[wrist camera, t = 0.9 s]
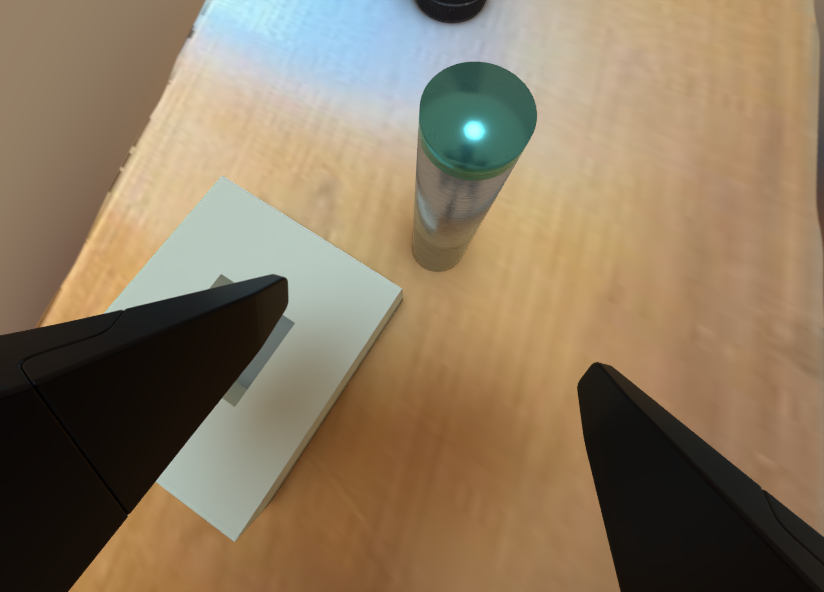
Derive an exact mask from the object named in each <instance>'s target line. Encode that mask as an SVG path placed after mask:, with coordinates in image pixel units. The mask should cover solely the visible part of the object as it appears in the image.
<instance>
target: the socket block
mask: <svg viewBox="0 0 824 592" xmlns="http://www.w3.org/2000/svg"><path fill="white" fill-rule="evenodd" d="M270 274H276V275H279V276H283V277H286V278H287V280H288V296H289V302H288V306H287V308H286V310H285V312H284V313H283V315H282V317H281V318H280V320H279V321H278V323H277V325H276V326H275V328H274V329H273V331H272V333H271V334H270V336H269V337H268V339H267V341H266V342H265V344H264V345H263V347H262V348H261V350H260V351H259V352H258V354H257V355H256V356H255V357H254V359H253V360H252V361H251V362H250V364H249V365H248V366H247V367H246V369H245V370H244V371H243V373H242V374H241V375H240V376H239V378H238V379H237V380H236V381H235V383H234V384H233V385H232V386H231V388H230V389H229V390H228V391H227V393H226V394H225V395H224V396H223V398H222V399H221V400H220V401H219V403H218V404H217V405H216V406H215V408H214V409H213V410H212V411H211V413H210V414H209V415H208V416H207V418H206V419H205V420H204V421H203V423H202V424H201V425H200V426H199V428H198V429H197V430H196V431H195V433H194V434H193V435H192V436H191V438H190V439H189V440H188V441H187V443H186V444H185V445H184V447H183V448H182V449H181V450H180V452H179V453H178V454H177V455H176V457H175V458H174V459H173V460H172V462H171V463H170V464H169V465H168V467H167V468H166V469H165V470H164V472H163V473H162V474H161V475H160V477H159V478H158V479H157V480H156V483H158V484H159V485H160V486H162V487H163V488H164V489H166V490H167V491H168V492H170V493H171V494H172V495H173V496H175V497H176V498H177V499H179V500H180V501H181V502H183V503H184V504H185V505H187V506H188V507H189V508H191V509H192V510H193V511H194V512H196V513H197V514H198V515H200V516H201V517H202V518H204V519H205V520H206V521H208V522H209V523H210V524H212V525H213V526H214V527H215V528H217V529H218V530H219V531H221V532H222V533H223V534H225V535H226V536H227V537H229V538H230V539H231V540H233V541H234V542H235V541H236V540H237V539H238V538H239V537H240V536H241V535H242V534H243V532H244V531H245V530H246V529H247V528H248V527H249V526H250V525H251V524H252V522H253V521H254V520H255V519H256V518H257V517H258V516H259V515H260V514H261V513H262V511H263V510H264V509H265V508H266V507H267V506H268V505H269V504H270V502H271V501H272V499H273V498H274V496H275V495H276V493H277V492H278V490H279V489H280V487H281V486H282V484H283V482H284V481H285V479H286V478H287V476H288V475H289V473H290V472H291V470H292V469H293V467H294V466H295V464H296V463H297V461H298V460H299V458H300V457H301V455H302V453H303V452H304V450H305V449H306V447H307V446H308V444H309V443H310V441H311V440H312V438H313V437H314V435H315V434H316V432H317V431H318V429H319V427H320V426H321V424H322V423H323V421H324V420H325V418H326V417H327V415H328V414H329V412H330V411H331V409H332V408H333V406H334V405H335V403H336V401H337V400H338V398H339V397H340V395H341V394H342V392H343V391H344V389H345V388H346V386H347V385H348V383H349V382H350V380H351V379H352V377H353V376H354V374H355V372H356V371H357V369H358V368H359V366H360V365H361V363H362V362H363V360H364V359H365V357H366V356H367V354H368V353H369V351H370V350H371V348H372V346H373V345H374V343H375V342H376V340H377V339H378V337H379V336H380V334H381V333H382V331H383V330H384V328H385V327H386V325H387V324H388V322H389V320H390V319H391V317H392V316H393V314H394V313H395V311H396V310H397V308H398V307H399V305H400V304H401V302H402V301H403V295H402V288H401V287H399V286H397V285H396V284H394V283H393V282H391V281H389V280H388V279H386V278H385V277H383V276H381V275H380V274H378V273H377V272H375V271H373V270H372V269H370V268H369V267H367V266H365V265H364V264H362V263H361V262H359V261H358V260H356V259H354V258H353V257H351V256H350V255H348V254H346V253H345V252H343V251H342V250H340V249H338V248H337V247H335V246H334V245H332V244H330V243H329V242H327V241H326V240H324V239H322V238H321V237H319V236H318V235H316V234H315V233H313V232H311V231H310V230H308V229H307V228H305V227H303V226H302V225H300V224H299V223H297V222H295V221H294V220H292V219H291V218H289V217H287V216H286V215H284V214H283V213H281V212H279V211H278V210H276V209H275V208H273V207H272V206H270V205H268V204H267V203H265V202H264V201H262V200H260V199H259V198H257V197H256V196H254V195H252V194H251V193H249V192H248V191H246V190H244V189H243V188H241V187H240V186H238V185H236V184H235V183H233V182H232V181H230V180H229V179H227V178H225V177H224V176H221V177H220V179H219V180H218V181H217V182H216V183H215V184H214V185H213V187H212V188H211V189H210V190H209V191H208V192H207V194H206V195H205V196H204V197H203V198H202V199H201V201H200V202H199V203H198V204H197V205H196V206H195V208H194V209H193V210H192V211H191V212H190V213H189V215H188V216H187V217H186V218H185V219H184V220H183V222H182V223H181V224H180V225H179V226H178V227H177V229H176V230H175V231H174V232H173V233H172V234H171V236H170V237H169V238H168V239H167V240H166V241H165V243H164V244H163V245H162V246H161V247H160V248H159V250H158V251H157V252H156V253H155V254H154V255H153V257H152V258H151V259H150V260H149V261H148V262H147V264H146V265H145V266H144V267H143V268H142V269H141V271H140V272H139V273H138V274H137V275H136V276H135V278H134V279H133V280H132V281H131V282H130V283H129V285H128V286H127V287H126V288H125V289H124V290H123V292H122V293H121V294H120V295H119V296H118V297H117V298H116V300H115V301H114V302H113V303H112V304H111V305H110V307H109V308H108V309H107V310H106V311H105V312H104V314H105V313H109V312H113V311H117V310H125V309H126V308H131V307H135V306H139V305H143V304H147V303H152V302H156V301H160V300H164V299H168V298H173V297H177V296H181V295H185V294H190V293H194V292H198V291H202V290H206V289H211V288H215V287H219V286H223V285H227V284H232V283H236V282H240V281H244V280H249V279H253V278H257V277H261V276H265V275H270Z"/></svg>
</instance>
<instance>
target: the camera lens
mask: <svg viewBox="0 0 824 592" xmlns="http://www.w3.org/2000/svg"><path fill="white" fill-rule="evenodd" d="M485 1H486V0H417V3H418V5H419V6H420V8H421V9H422V10H423V11H424V12H425V13H426V14H427V15H429V16H430V17H432V18H434V19H436V20H440V21H444V22H460V21H464V20H467V19H470V18H471V17H473V16H475V15H476V14H477V13H478V12H479V11H480V10H481V8H482V7H483V5H484V3H485Z"/></svg>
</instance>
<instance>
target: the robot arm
mask: <svg viewBox="0 0 824 592" xmlns="http://www.w3.org/2000/svg"><path fill="white" fill-rule="evenodd" d="M288 302H289V296H288V280H287V278H286V277H283V276H279V275H276V274H270V275H265V276H261V277H257V278H253V279H249V280H244V281H240V282H236V283H232V284H227V285H223V286H219V287H215V288H211V289H206V290H202V291H198V292H194V293H190V294H185V295H181V296H177V297H173V298H168V299H164V300H160V301H156V302H152V303H147V304H143V305H139V306H135V307H131V308H126V309H125V310H117V311H113V312H109V313H105V314H101V315H96V316H92V317H87V318H83V319H79V320H74V321H70V322H65V323H60V324H55V325H50V326H45V327H40V328H35V329H31V330H26V331H20V332H15V333H10V334H5V335H0V592H68V591H69V590H70V589H71V587H72V586H73V585H74V584H75V582H76V581H77V580H78V579H79V577H80V576H81V575H82V574H83V572H84V571H85V570H86V569H87V567H88V566H89V565H90V564H91V562H92V561H93V560H94V559H95V557H96V556H97V555H98V554H99V552H100V551H101V550H102V549H103V547H104V546H105V545H106V544H107V542H108V541H109V540H110V539H111V537H112V536H113V535H114V533H115V532H116V531H117V530H118V528H119V527H120V526H121V525H122V523H123V522H124V521H125V520H126V518H127V517H128V514H130V513H131V512H132V510H133V509H134V508H135V507H136V505H137V504H138V503H139V502H140V500H141V499H142V498H143V497H144V495H145V494H146V493H147V492H148V490H149V489H150V488H151V487H152V485H153V484H154V483H155V482H156V480H157V479H158V478H159V477H160V475H161V474H162V473H163V472H164V470H165V469H166V468H167V467H168V465H169V464H170V463H171V462H172V460H173V459H174V458H175V457H176V455H177V454H178V453H179V452H180V450H181V449H182V448H183V447H184V445H185V444H186V443H187V441H188V440H189V439H190V438H191V436H192V435H193V434H194V433H195V431H196V430H197V429H198V428H199V426H200V425H201V424H202V423H203V421H204V420H205V419H206V418H207V416H208V415H209V414H210V413H211V411H212V410H213V409H214V408H215V406H216V405H217V404H218V403H219V401H220V400H221V399H222V398H223V396H224V395H225V394H226V393H227V391H228V390H229V389H230V388H231V386H232V385H233V384H234V383H235V381H236V380H237V379H238V378H239V376H240V375H241V374H242V373H243V371H244V370H245V369H246V367H247V366H248V365H249V364H250V362H251V361H252V360H253V359H254V357H255V356H256V355H257V354H258V352H259V351H260V350H261V348H262V347H263V345H264V344H265V342H266V341H267V339H268V337H269V336H270V334H271V333H272V331H273V329H274V328H275V326H276V325H277V323H278V321H279V320H280V318H281V317H282V315H283V313H284V312H285V310H286V308H287V306H288ZM577 391H578V399H579V406H580V414H581V422H582V429H583V436H584V441H585V446H586V451H587V455H588V459H589V463H590V467H591V471H592V475H593V479H594V484H595V488H596V492H597V496H598V500H599V504H600V508H601V512H602V517H603V521H604V525H605V529H606V533H607V537H608V541H609V545H610V550H611V554H612V558H613V562H614V566H615V570H616V574H617V578H618V583H619V587H620V591H621V592H824V537H823V536H822V535H820V534H819V533H818V532H817V531H815V530H814V529H813V528H812V527H810V526H809V525H808V524H807V523H805V522H804V521H803V520H802V519H800V518H799V517H798V516H797V515H795V514H794V513H793V512H792V511H790V510H789V509H788V508H787V507H785V506H784V505H783V504H782V503H780V502H779V501H778V500H777V499H775V498H774V497H773V496H772V495H771V494H769V493H768V492H767V491H765V490H762V489H761V487H760V486H759V485H758V484H757V483H756V482H754V481H753V480H752V479H751V478H749V477H748V476H747V475H746V474H744V473H743V472H742V471H741V470H740V469H738V468H737V467H736V466H735V465H733V464H732V463H731V462H730V461H728V460H727V459H726V458H725V457H723V456H722V455H721V454H720V453H719V452H717V451H716V450H715V449H714V448H712V447H711V446H710V445H709V444H707V443H706V442H705V441H704V440H702V439H701V438H700V437H699V436H698V435H696V434H695V433H694V432H693V431H691V430H690V429H689V428H688V427H686V426H685V425H684V424H683V423H681V422H680V421H679V420H678V419H677V418H675V417H674V416H673V415H672V414H670V413H669V412H668V411H667V410H665V409H664V408H663V407H662V406H660V405H659V404H658V403H657V402H656V401H654V400H653V399H652V398H651V397H649V396H648V395H647V394H646V393H644V392H643V391H642V390H641V389H639V388H638V387H637V386H636V385H635V384H633V383H632V382H631V381H630V380H628V379H627V378H626V377H625V376H623V375H622V374H621V373H620V372H618V371H617V370H616V369H615V368H614V367H612V366H610V365H607V364H603V363H599V362H595V363H593V364H592V365H591V366H590V367H589V369H588V370H587V371H586V373H585V374H584V375H583V376H582V378H581V379H580V381H579V383H578V386H577Z"/></svg>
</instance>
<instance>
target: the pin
mask: <svg viewBox="0 0 824 592" xmlns="http://www.w3.org/2000/svg"><path fill="white" fill-rule="evenodd" d="M536 121H537V110H536V105H535V101H534V99H533V96H532V94H531V92H530V91H529V89H528V88H527V86H526V85H525V84H524V83H523V82H522V81H521V80H520V79H519V78H518V77H517V76H516V75H514V74H513V73H511V72H510V71H508V70H506V69H504V68H502V67H500V66H497V65H494V64H490V63H485V62H465V63H460V64H456V65H453V66H450V67H448V68H446V69H444V70H442V71H441V72H439V73H438V74H437V75H436V76H435V77H433V78H432V80H431V81H430V82H429V83H428V85H427V86H426V88H425V90H424V92H423V94H422V97H421V101H420V111H419V129H418V147H417V165H416V183H415V201H414V219H413V237H412V251H413V255H414V257H415V259H416V261H417V262H418V263H419V264H420V265H421V266H422V267H424V268H426V269H428V270H431V271H436V272H441V271H446V270H449V269H451V268H452V267H454V266H455V265H456V264H457V263H458V262H459V261H460V259H461V257H462V256H463V254H464V252H465V250H466V249H467V247H468V245H469V243H470V242H471V240H472V238H473V237H474V235H475V233H476V231H477V230H478V228H479V226H480V224H481V223H482V221H483V219H484V218H485V216H486V214H487V212H488V211H489V209H490V207H491V205H492V204H493V202H494V200H495V199H496V197H497V195H498V193H499V192H500V190H501V188H502V187H503V185H504V183H505V181H506V180H507V178H508V176H509V174H510V173H511V171H512V169H513V168H514V166H515V164H516V162H517V161H518V159H519V157H520V155H521V154H522V152H523V150H524V149H525V147H526V145H527V143H528V142H529V140H530V138H531V136H532V134H533V132H534V130H535V127H536Z"/></svg>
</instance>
